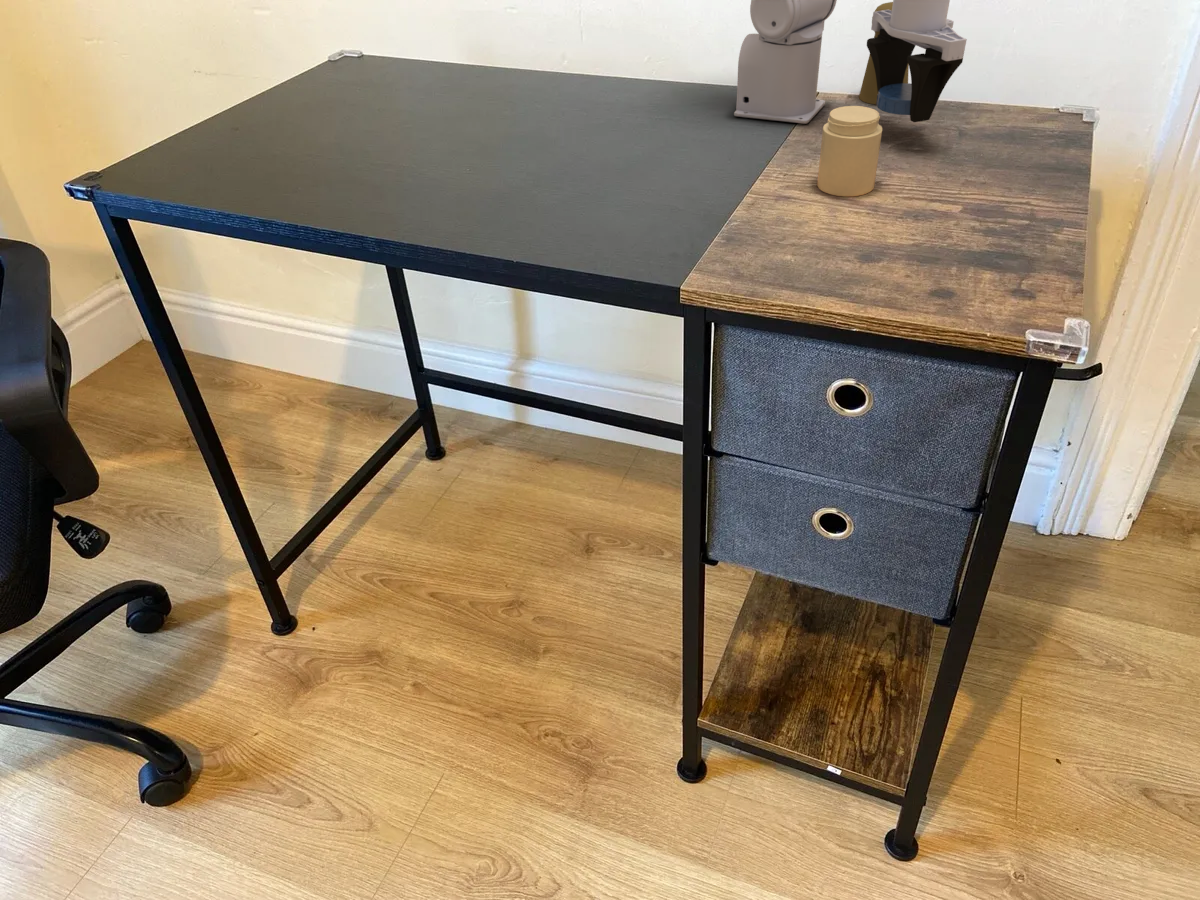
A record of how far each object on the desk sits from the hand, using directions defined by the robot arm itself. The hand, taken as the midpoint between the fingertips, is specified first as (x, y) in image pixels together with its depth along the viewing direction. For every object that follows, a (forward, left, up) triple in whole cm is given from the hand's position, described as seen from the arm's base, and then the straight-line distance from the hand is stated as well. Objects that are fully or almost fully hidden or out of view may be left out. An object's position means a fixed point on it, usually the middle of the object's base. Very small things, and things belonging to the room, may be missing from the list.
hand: (903, 111), depth 100 cm
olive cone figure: (-5, +13, -3) cm, 14 cm away
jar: (-2, -16, -3) cm, 16 cm away
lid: (0, 0, +2) cm, 2 cm away
